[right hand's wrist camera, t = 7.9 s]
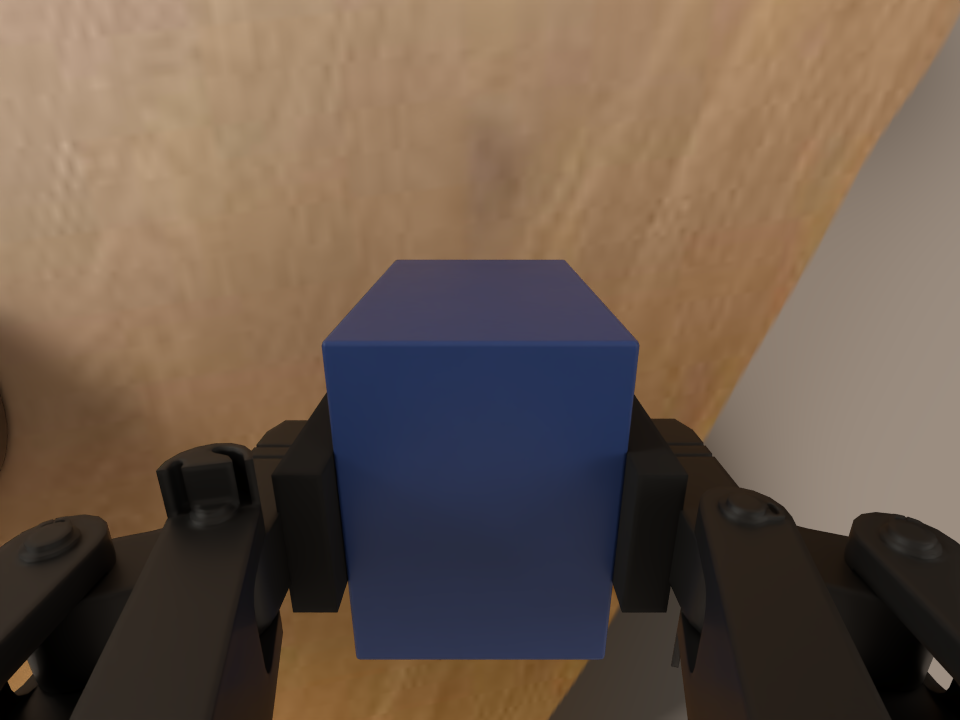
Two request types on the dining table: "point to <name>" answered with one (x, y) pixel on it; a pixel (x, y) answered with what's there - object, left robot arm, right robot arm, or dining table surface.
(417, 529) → the block
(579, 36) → the dining table surface
